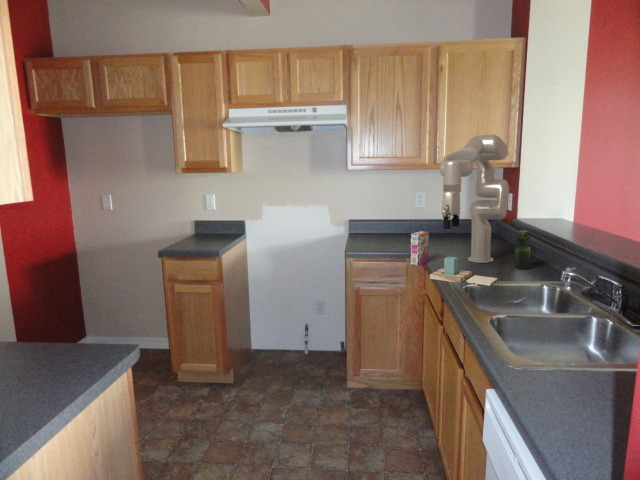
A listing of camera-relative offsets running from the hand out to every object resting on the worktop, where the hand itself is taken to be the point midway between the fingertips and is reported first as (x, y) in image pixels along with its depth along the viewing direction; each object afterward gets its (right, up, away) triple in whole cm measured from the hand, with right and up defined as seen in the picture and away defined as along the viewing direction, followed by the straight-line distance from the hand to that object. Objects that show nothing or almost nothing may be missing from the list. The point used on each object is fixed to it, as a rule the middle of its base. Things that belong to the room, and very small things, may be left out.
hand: (451, 227), depth 195 cm
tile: (+12, -24, -4) cm, 27 cm away
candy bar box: (-7, -18, +33) cm, 38 cm away
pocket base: (+1, -22, +4) cm, 23 cm away
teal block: (+1, -23, +4) cm, 23 cm away
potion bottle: (+39, -19, +16) cm, 46 cm away
